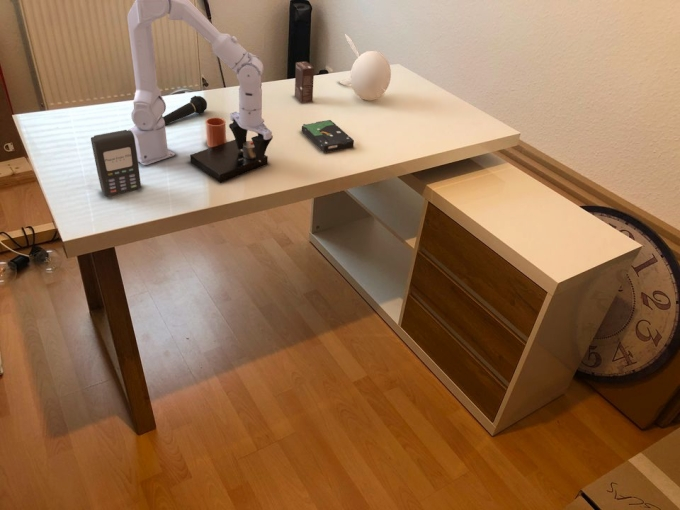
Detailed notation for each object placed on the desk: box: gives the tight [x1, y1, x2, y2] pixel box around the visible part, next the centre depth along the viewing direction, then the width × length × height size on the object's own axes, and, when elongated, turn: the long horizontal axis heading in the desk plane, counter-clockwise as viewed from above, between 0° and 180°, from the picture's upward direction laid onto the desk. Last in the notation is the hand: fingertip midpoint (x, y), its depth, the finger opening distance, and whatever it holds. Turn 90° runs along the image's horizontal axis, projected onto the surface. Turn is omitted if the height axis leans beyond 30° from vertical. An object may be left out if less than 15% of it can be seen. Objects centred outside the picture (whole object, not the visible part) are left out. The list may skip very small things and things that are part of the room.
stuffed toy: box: [339, 33, 392, 101], centre depth 192 cm, size 19×14×25 cm
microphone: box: [163, 95, 208, 126], centre depth 167 cm, size 6×6×20 cm
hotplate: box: [189, 139, 269, 184], centre depth 149 cm, size 17×14×3 cm
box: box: [294, 61, 315, 104], centre depth 185 cm, size 6×4×12 cm
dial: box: [243, 140, 256, 159], centre depth 149 cm, size 4×4×4 cm
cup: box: [205, 117, 227, 148], centre depth 156 cm, size 5×5×7 cm
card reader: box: [90, 129, 142, 197], centre depth 130 cm, size 9×4×15 cm, turn 126°
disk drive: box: [301, 119, 355, 153], centre depth 166 cm, size 10×3×15 cm
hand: (250, 153), depth 149 cm, fingers open, 7 cm apart
